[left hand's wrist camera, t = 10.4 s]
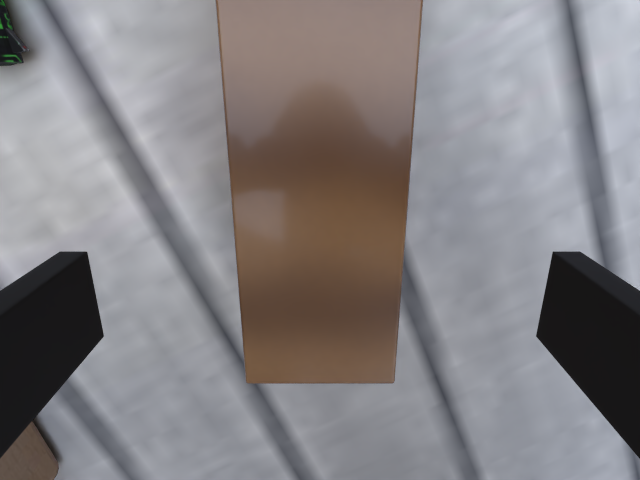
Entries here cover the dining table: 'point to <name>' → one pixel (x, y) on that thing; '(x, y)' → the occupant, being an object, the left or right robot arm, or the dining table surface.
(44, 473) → the decorative block
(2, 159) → the dining table surface
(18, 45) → the handgun
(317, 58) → the bar
